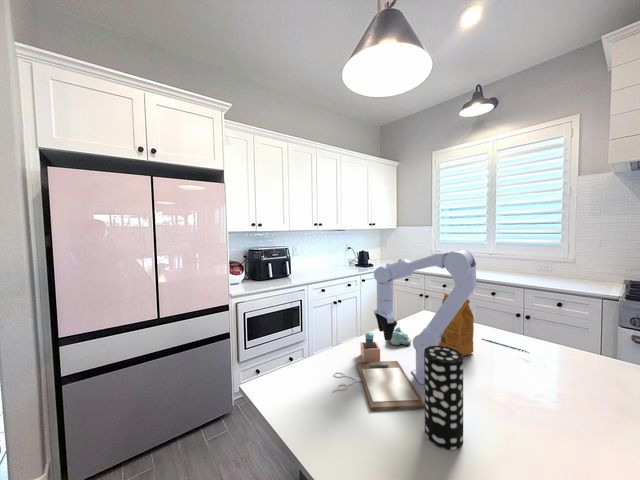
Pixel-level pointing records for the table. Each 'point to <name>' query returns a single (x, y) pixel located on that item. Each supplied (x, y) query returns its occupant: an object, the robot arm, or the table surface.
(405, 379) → the clipboard
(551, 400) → the table surface
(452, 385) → the white-spotted black cylinder
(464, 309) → the coffee package
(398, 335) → the stuffed animal
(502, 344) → the grey thin rod
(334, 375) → the scissors
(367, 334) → the marker
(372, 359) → the pen cup
